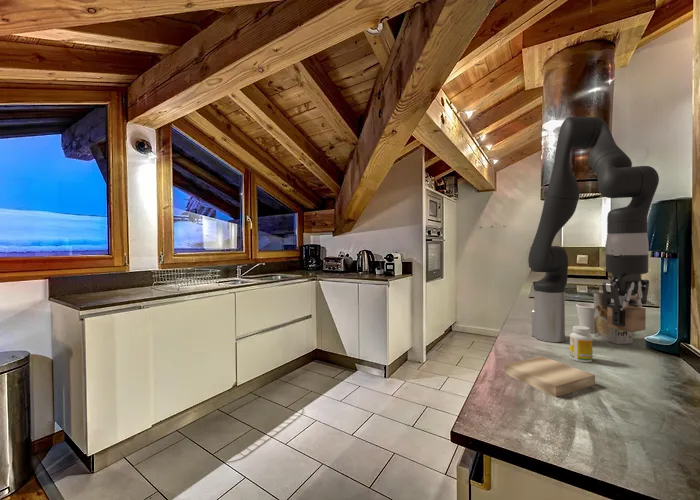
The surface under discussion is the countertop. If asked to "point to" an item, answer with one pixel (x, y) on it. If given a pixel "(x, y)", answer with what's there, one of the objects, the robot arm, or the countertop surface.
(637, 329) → the walnut cube
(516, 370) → the maple block
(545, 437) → the countertop surface
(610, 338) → the coffee box
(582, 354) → the supplement bottle
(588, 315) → the dixie cup
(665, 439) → the countertop surface
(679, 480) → the countertop surface
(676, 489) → the countertop surface
